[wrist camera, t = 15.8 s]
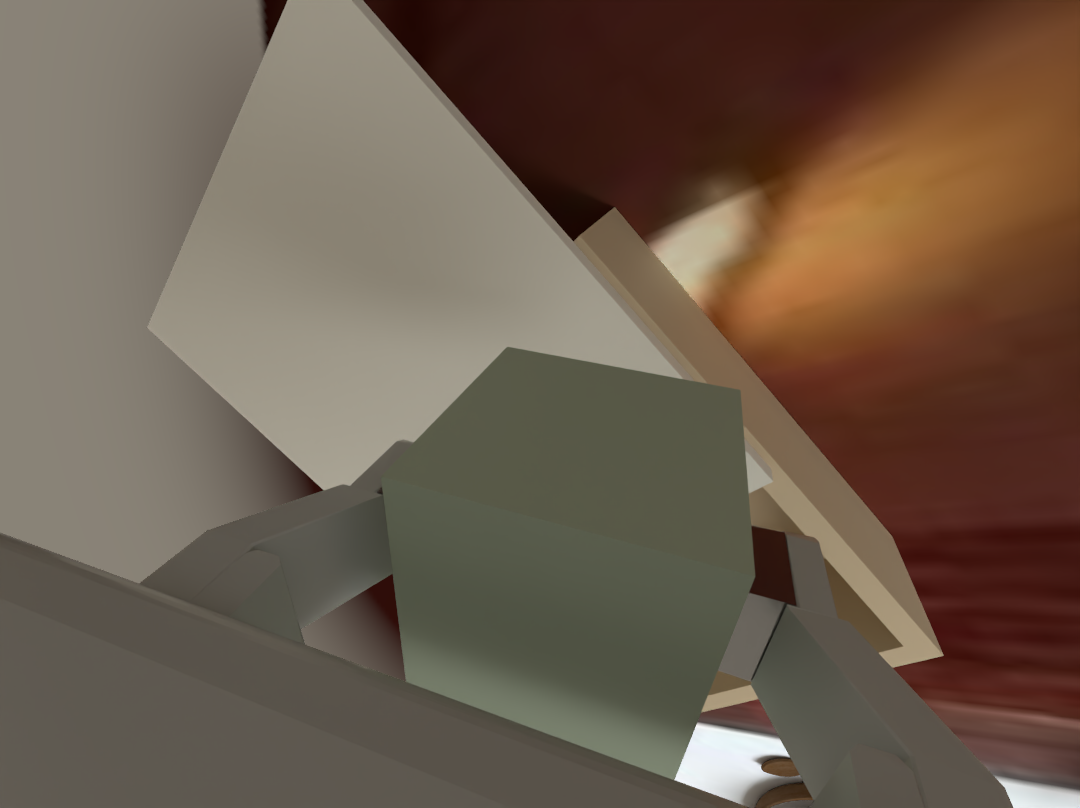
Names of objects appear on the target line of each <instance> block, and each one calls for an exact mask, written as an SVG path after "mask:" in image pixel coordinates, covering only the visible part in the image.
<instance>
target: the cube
mask: <svg viewBox="0 0 1080 808" xmlns="http://www.w3.org/2000/svg"><path fill="white" fill-rule="evenodd" d="M381 483H382V491H383V499H384V507H385V515H386V523H387V531H388V539H389V547H390V555H391V563H392V571H393V578H394V587H395V595H396V603H397V611H398V619H399V627H400V635H401V643H402V651H403V660H404V667H405V676H406V682H408V683H411V684H413V685H416V686H419V687H422V688H424V689H427V690H430V691H432V692H435V693H438V694H441V695H443V696H446V697H449V698H451V699H454V700H457V701H460V702H462V703H465V704H468V705H470V706H473V707H476V708H479V709H481V710H484V711H487V712H490V713H492V714H495V715H498V716H500V717H503V718H506V719H509V720H511V721H514V722H517V723H519V724H522V725H525V726H528V727H530V728H533V729H536V730H539V731H541V732H544V733H547V734H549V735H552V736H555V737H558V738H560V739H563V740H566V741H569V742H571V743H574V744H577V745H580V746H582V747H585V748H588V749H590V750H593V751H596V752H599V753H601V754H604V755H607V756H610V757H612V758H615V759H618V760H620V761H623V762H626V763H629V764H631V765H634V766H637V767H640V768H642V769H645V770H648V771H651V772H653V773H656V774H659V775H661V776H664V777H667V778H670V779H672V780H674V779H675V777H676V774H677V772H678V769H679V767H680V764H681V762H682V759H683V757H684V754H685V752H686V749H687V747H688V744H689V742H690V739H691V737H692V734H693V732H694V729H695V726H696V724H697V721H698V719H699V716H700V714H701V711H702V709H703V706H704V704H705V701H706V699H707V696H708V694H709V691H710V689H711V686H712V684H713V681H714V679H715V676H716V674H717V671H718V669H719V666H720V664H721V661H722V659H723V656H724V654H725V651H726V649H727V646H728V644H729V641H730V639H731V636H732V634H733V631H734V629H735V626H736V624H737V621H738V619H739V616H740V614H741V611H742V609H743V606H744V604H745V601H746V599H747V596H748V594H749V591H750V589H751V586H752V584H753V581H754V579H755V567H754V554H753V541H752V529H751V516H750V504H749V491H748V478H747V466H746V453H745V441H744V428H743V415H742V403H741V390H739V389H733V388H728V387H722V386H717V385H712V384H706V383H701V382H695V381H690V380H685V379H679V378H674V377H669V376H663V375H658V374H652V373H647V372H642V371H636V370H631V369H625V368H620V367H615V366H609V365H604V364H599V363H593V362H588V361H582V360H577V359H572V358H566V357H561V356H555V355H550V354H545V353H539V352H534V351H529V350H523V349H518V348H512V347H506V348H505V349H504V350H503V351H502V352H501V353H500V354H499V356H498V357H497V358H496V359H495V360H494V361H493V362H492V363H491V364H490V365H489V366H488V367H487V368H486V369H485V370H484V371H483V372H482V373H481V374H480V375H479V376H478V377H477V378H476V379H475V380H474V381H473V382H472V383H471V384H470V385H469V386H468V387H467V388H466V389H465V390H464V391H463V393H462V394H461V395H460V396H459V397H458V398H457V399H456V400H455V401H454V402H453V403H452V404H451V405H450V406H449V407H448V408H447V409H446V410H445V411H444V412H443V413H442V414H441V415H440V416H439V417H438V418H437V419H436V420H435V421H434V422H433V423H432V424H431V425H430V426H429V427H428V428H427V429H426V431H425V432H424V433H423V434H422V435H421V436H420V437H419V438H418V439H417V440H416V441H415V442H414V443H413V444H412V445H411V446H410V447H409V448H408V449H407V450H406V451H405V452H404V453H403V454H402V455H401V456H400V457H399V458H398V459H397V460H396V461H395V462H394V463H393V464H392V465H391V466H390V467H389V469H388V470H387V471H386V472H385V473H384V474H383V475H382V476H381Z"/></svg>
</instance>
